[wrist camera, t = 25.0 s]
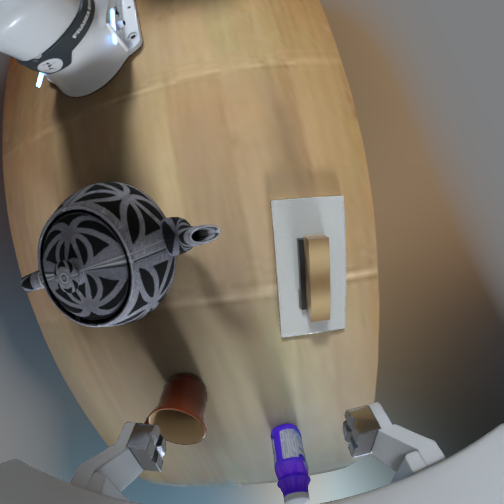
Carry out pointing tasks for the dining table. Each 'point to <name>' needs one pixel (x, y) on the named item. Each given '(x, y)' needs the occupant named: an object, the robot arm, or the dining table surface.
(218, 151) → the dining table surface
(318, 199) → the tile
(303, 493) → the bottle
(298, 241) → the brush
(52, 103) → the dining table surface
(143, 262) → the teapot
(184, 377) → the mug
